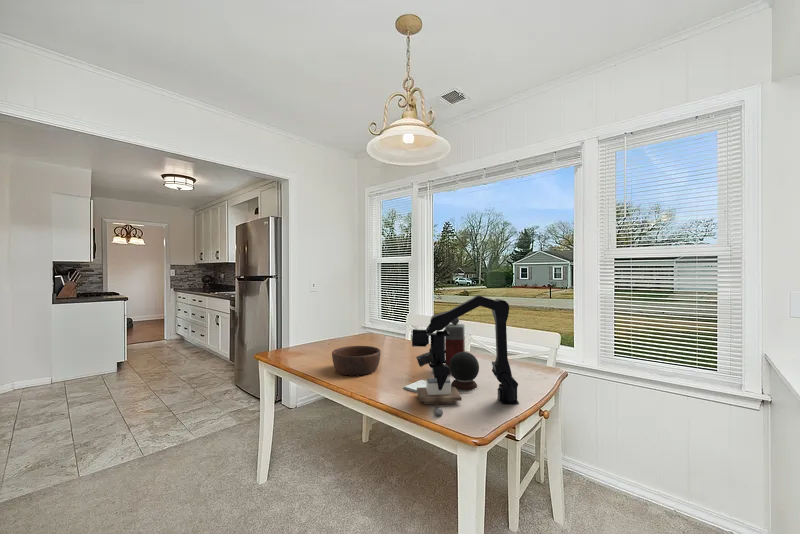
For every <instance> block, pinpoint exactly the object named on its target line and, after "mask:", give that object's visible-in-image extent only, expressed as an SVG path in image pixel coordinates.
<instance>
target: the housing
mask: <svg viewBox="0 0 800 534" xmlns="http://www.w3.org/2000/svg"><path fill="white" fill-rule="evenodd" d="M425 381H426V391H427V393H428V395H443V394H451V387H452V381H451V380H450V379H449V378H448V377H447V379H446V381H445V383H444V386H443V388H442V390H439V389H438V384H437V378H434V377H428V378H426V380H425Z"/></svg>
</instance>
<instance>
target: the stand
mask: <svg viewBox="0 0 800 534" xmlns="http://www.w3.org/2000/svg"><path fill="white" fill-rule="evenodd" d="M416 394H417V396H418V400H419V402H422V403H423V404H424V405H441V404H442V405H444V404H445V405H446V404H447V405H449V404H452V405H453V404H456V402H457V401H462V396H461V393H460V392H459V390H458V389H456V387H452V386H451V394H443V395H428V393H427V391H426V387H425V388H417V393H416Z"/></svg>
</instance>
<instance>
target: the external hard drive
mask: <svg viewBox="0 0 800 534" xmlns="http://www.w3.org/2000/svg"><path fill="white" fill-rule="evenodd" d="M425 387H426V380H424V379H419V380H418V381H415V382H412V383H410V384H407V385H405V386H403V389H404V390H405V389H406V391H409V392H412V393H416V394H418V393H417V388H425Z"/></svg>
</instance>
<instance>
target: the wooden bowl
mask: <svg viewBox="0 0 800 534" xmlns="http://www.w3.org/2000/svg"><path fill="white" fill-rule="evenodd" d="M381 353H382V352H381V349H380V348H378V347H376V346H369V345H349V346H348V345H347V346H344V347H343V346H342V347H339V348H336V349H334V350H332V352H331V356H332V357H331V359H332V364H333V367H334V369H335V371H336V372H337V374H339V373H340V374H339V375H341V376H347V375H349V376H348V377H351V376H352V377H358V376H357V375H361V376H366V374H367V375H370V374H373V373H374V372H375V371H376V370H377V369H378V368H379V364H380V360H381ZM372 372H373V373H372Z"/></svg>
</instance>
